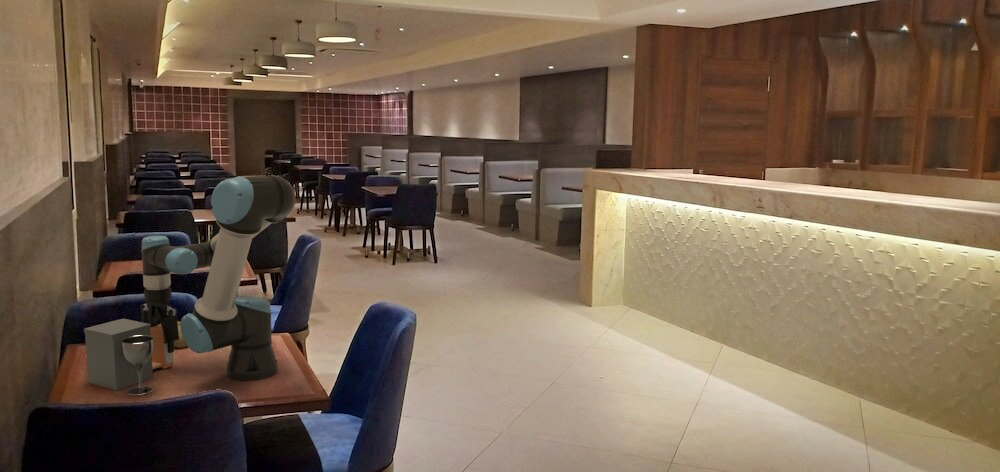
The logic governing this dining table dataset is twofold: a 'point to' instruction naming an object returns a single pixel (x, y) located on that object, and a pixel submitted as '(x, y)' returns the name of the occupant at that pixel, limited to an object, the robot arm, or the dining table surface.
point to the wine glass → (138, 358)
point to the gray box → (113, 354)
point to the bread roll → (180, 342)
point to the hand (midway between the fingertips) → (161, 360)
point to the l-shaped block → (158, 348)
